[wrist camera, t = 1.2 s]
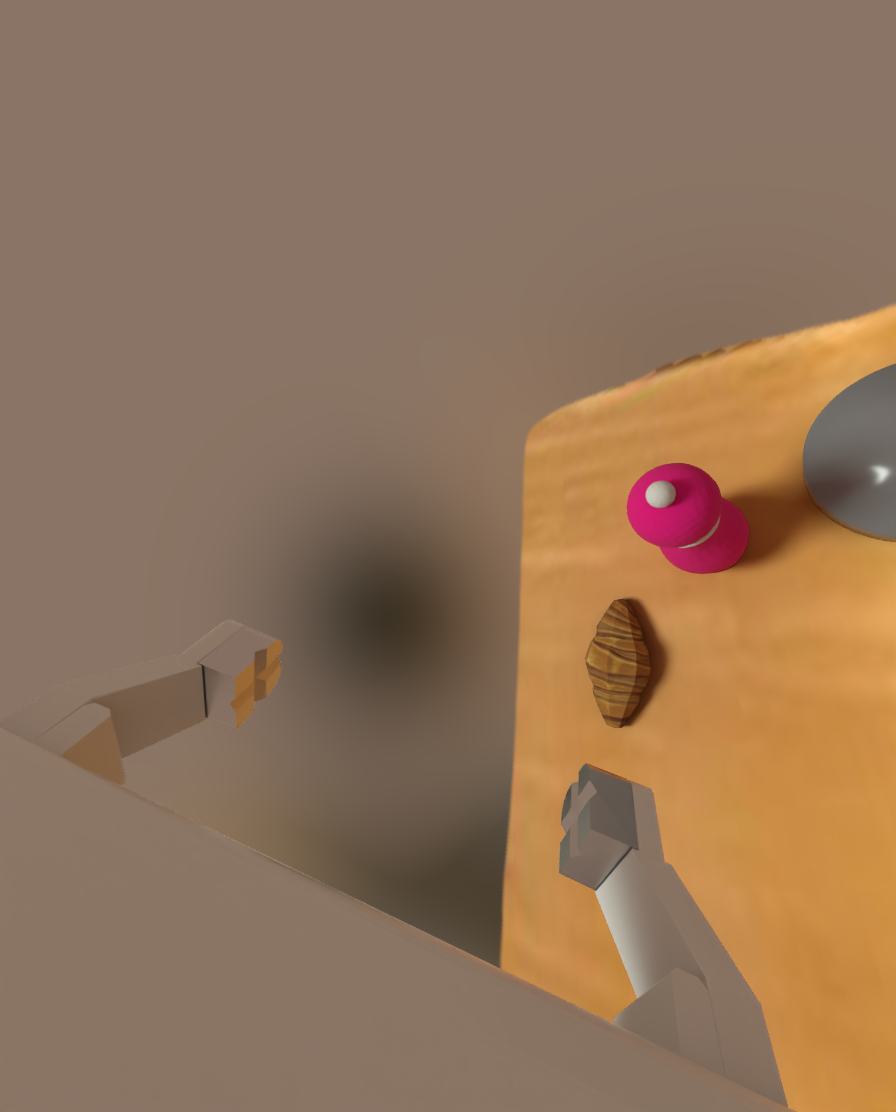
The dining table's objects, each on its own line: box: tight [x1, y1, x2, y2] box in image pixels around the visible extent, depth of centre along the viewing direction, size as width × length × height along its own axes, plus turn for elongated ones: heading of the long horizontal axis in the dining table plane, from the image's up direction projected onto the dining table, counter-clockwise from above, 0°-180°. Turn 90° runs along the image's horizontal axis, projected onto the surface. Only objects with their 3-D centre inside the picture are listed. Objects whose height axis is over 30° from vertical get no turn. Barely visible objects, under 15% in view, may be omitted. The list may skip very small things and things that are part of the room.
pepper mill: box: [627, 463, 749, 574], centre depth 35 cm, size 7×7×20 cm
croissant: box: [585, 599, 651, 728], centre depth 45 cm, size 14×7×5 cm, turn 172°
